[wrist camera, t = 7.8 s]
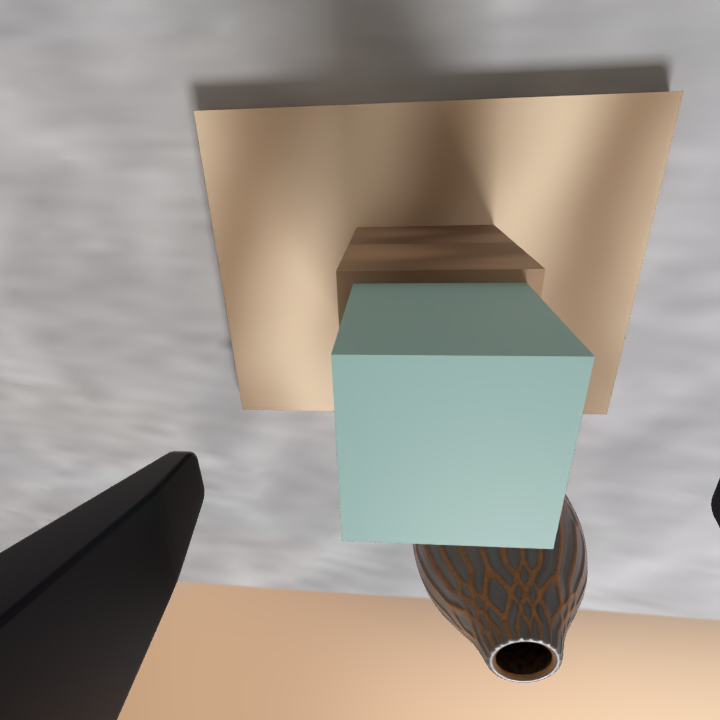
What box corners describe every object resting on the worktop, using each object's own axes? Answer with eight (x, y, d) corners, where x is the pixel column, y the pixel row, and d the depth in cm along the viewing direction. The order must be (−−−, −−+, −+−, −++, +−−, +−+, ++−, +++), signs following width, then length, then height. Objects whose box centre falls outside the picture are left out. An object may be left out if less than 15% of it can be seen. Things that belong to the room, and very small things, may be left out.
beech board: (669, 93, 15) (683, 91, 14) (599, 404, 20) (606, 414, 20) (202, 112, 16) (193, 110, 16) (247, 400, 22) (242, 409, 21)
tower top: (514, 242, 14) (545, 268, 11) (497, 387, 16) (519, 442, 13) (348, 244, 14) (335, 271, 11) (354, 386, 16) (344, 439, 13)
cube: (526, 282, 11) (594, 356, 7) (507, 428, 13) (553, 549, 9) (353, 283, 11) (330, 354, 8) (357, 426, 13) (341, 540, 9)
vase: (521, 399, 21) (598, 561, 13) (572, 505, 23) (664, 697, 15) (386, 455, 22) (379, 625, 14) (446, 548, 25) (468, 737, 17)
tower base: (494, 224, 17) (514, 242, 14) (482, 350, 19) (497, 387, 16) (356, 227, 17) (348, 244, 14) (360, 349, 19) (354, 386, 16)
